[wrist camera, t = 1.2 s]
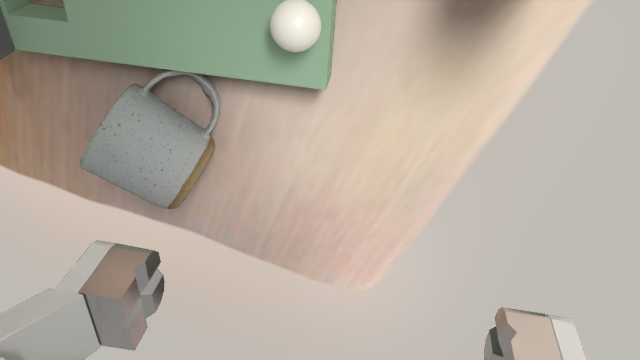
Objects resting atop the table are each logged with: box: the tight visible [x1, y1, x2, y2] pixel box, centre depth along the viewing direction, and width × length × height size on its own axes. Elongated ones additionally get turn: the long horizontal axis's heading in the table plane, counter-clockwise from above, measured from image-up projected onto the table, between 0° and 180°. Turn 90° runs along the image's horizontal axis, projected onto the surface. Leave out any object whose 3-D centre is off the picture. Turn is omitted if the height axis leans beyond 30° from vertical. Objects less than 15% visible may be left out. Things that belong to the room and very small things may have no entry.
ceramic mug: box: [80, 70, 220, 209], centre depth 38 cm, size 11×8×8 cm
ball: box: [270, 0, 321, 52], centre depth 30 cm, size 3×3×3 cm
